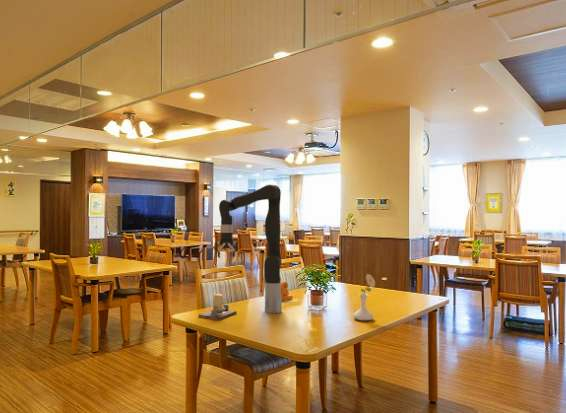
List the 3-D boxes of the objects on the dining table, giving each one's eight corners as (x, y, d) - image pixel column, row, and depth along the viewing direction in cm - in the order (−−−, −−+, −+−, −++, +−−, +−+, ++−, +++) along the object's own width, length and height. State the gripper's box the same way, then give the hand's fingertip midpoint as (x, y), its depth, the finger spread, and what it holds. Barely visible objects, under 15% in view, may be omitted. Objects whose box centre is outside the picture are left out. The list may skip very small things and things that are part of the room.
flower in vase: (361, 323, 223) (361, 276, 224) (348, 318, 234) (349, 273, 234) (380, 320, 230) (380, 274, 230) (367, 315, 240) (367, 272, 240)
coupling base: (236, 313, 241) (236, 310, 241) (219, 320, 226) (219, 317, 226) (216, 311, 247) (216, 308, 247) (198, 317, 232) (198, 314, 232)
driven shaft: (218, 314, 232) (218, 309, 232) (216, 316, 228) (216, 311, 228) (213, 314, 232) (213, 309, 232) (211, 316, 228) (211, 310, 228)
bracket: (280, 301, 277) (280, 283, 277) (274, 299, 283) (274, 281, 283) (293, 299, 283) (293, 281, 283) (287, 297, 289) (287, 280, 289)
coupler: (222, 311, 239) (222, 293, 239) (222, 313, 234) (222, 295, 234) (213, 311, 239) (213, 293, 239) (212, 313, 233) (213, 295, 234)
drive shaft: (228, 310, 243) (228, 304, 243) (224, 311, 240) (224, 306, 240) (224, 309, 245) (224, 304, 245) (220, 310, 241) (220, 305, 241)
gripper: (214, 232, 256) (214, 258, 256) (238, 232, 258) (237, 258, 258) (215, 231, 263) (214, 257, 263) (237, 231, 265) (237, 257, 265)
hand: (226, 257), depth 260 cm, fingers open, 8 cm apart
